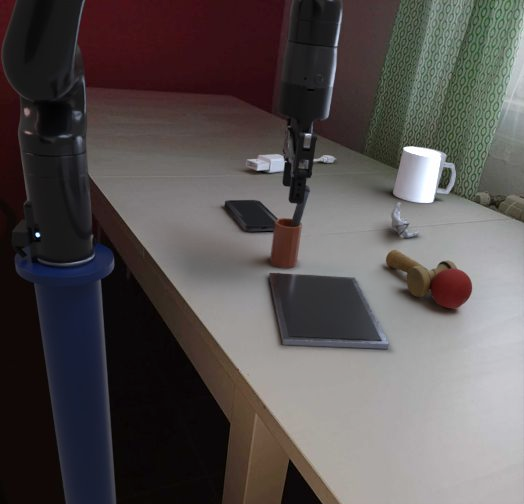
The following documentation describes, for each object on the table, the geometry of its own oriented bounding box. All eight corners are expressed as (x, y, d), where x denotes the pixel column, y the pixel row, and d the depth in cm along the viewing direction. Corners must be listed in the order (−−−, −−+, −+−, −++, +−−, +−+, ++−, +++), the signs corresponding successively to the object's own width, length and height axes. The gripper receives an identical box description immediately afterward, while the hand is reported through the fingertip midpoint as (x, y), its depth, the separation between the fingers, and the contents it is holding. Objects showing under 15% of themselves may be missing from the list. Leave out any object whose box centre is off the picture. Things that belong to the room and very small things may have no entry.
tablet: (282, 344, 69) (283, 338, 69) (268, 277, 86) (269, 271, 85) (387, 349, 71) (389, 343, 70) (354, 281, 87) (355, 276, 87)
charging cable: (339, 166, 155) (341, 154, 153) (257, 174, 134) (259, 160, 133) (326, 162, 158) (328, 150, 156) (244, 169, 137) (245, 155, 135)
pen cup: (271, 267, 89) (276, 226, 85) (269, 256, 93) (273, 217, 89) (297, 268, 89) (303, 228, 86) (294, 258, 93) (299, 219, 89)
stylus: (280, 260, 90) (303, 186, 83) (279, 257, 91) (302, 183, 84) (288, 262, 90) (312, 188, 83) (287, 258, 92) (310, 185, 84)
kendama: (368, 275, 93) (438, 312, 78) (378, 239, 91) (452, 270, 76) (402, 279, 97) (475, 314, 82) (413, 244, 95) (490, 275, 80)
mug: (444, 195, 137) (457, 152, 131) (450, 207, 129) (464, 161, 123) (391, 187, 138) (401, 144, 132) (394, 199, 130) (404, 153, 124)
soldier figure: (415, 230, 115) (430, 232, 103) (396, 244, 116) (408, 248, 104) (394, 200, 113) (407, 199, 102) (375, 214, 114) (385, 215, 103)
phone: (258, 199, 114) (284, 225, 103) (258, 205, 115) (283, 230, 103) (223, 200, 112) (245, 226, 100) (222, 205, 112) (245, 232, 101)
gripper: (276, 71, 81) (264, 179, 90) (287, 84, 70) (272, 207, 78) (324, 76, 82) (308, 183, 91) (343, 90, 70) (323, 211, 79)
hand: (292, 194), depth 85 cm, fingers open, 8 cm apart
